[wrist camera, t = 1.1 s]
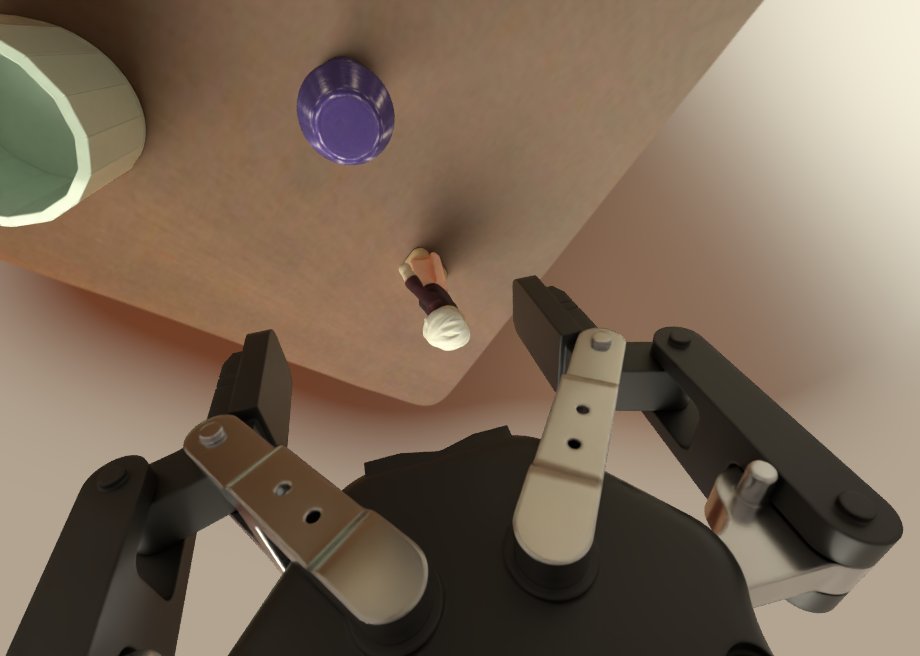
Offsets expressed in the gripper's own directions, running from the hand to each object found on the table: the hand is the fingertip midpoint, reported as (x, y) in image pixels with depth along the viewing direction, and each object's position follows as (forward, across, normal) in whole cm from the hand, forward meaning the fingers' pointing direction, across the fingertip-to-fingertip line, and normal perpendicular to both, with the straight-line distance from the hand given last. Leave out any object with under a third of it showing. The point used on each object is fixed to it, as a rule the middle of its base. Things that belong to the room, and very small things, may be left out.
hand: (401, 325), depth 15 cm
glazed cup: (+25, +18, -6) cm, 31 cm away
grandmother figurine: (+25, -4, +10) cm, 27 cm away
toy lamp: (+25, 0, -5) cm, 26 cm away
